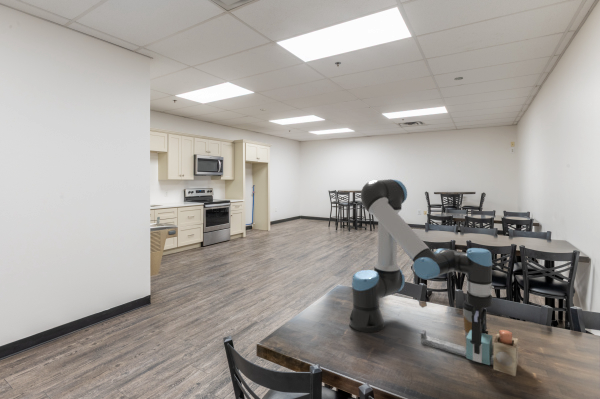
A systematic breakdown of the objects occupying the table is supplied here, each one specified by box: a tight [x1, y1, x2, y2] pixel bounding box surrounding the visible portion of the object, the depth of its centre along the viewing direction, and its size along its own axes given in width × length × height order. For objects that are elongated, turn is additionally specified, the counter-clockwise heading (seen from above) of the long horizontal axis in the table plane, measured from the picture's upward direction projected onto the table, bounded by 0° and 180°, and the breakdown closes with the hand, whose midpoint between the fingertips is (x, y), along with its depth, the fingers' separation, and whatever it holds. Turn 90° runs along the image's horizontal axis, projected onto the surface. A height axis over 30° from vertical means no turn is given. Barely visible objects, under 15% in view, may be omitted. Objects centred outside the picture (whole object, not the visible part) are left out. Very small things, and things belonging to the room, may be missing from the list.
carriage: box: [465, 330, 493, 366], centre depth 106 cm, size 7×7×8 cm
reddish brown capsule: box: [498, 329, 513, 344], centre depth 101 cm, size 4×4×3 cm
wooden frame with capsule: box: [492, 333, 519, 377], centre depth 101 cm, size 6×8×9 cm
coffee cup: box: [462, 298, 485, 338], centre depth 119 cm, size 8×8×15 cm
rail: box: [420, 329, 494, 366], centre depth 111 cm, size 26×3×4 cm, turn 50°
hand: (479, 355), depth 107 cm, fingers closed on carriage, 7 cm apart
